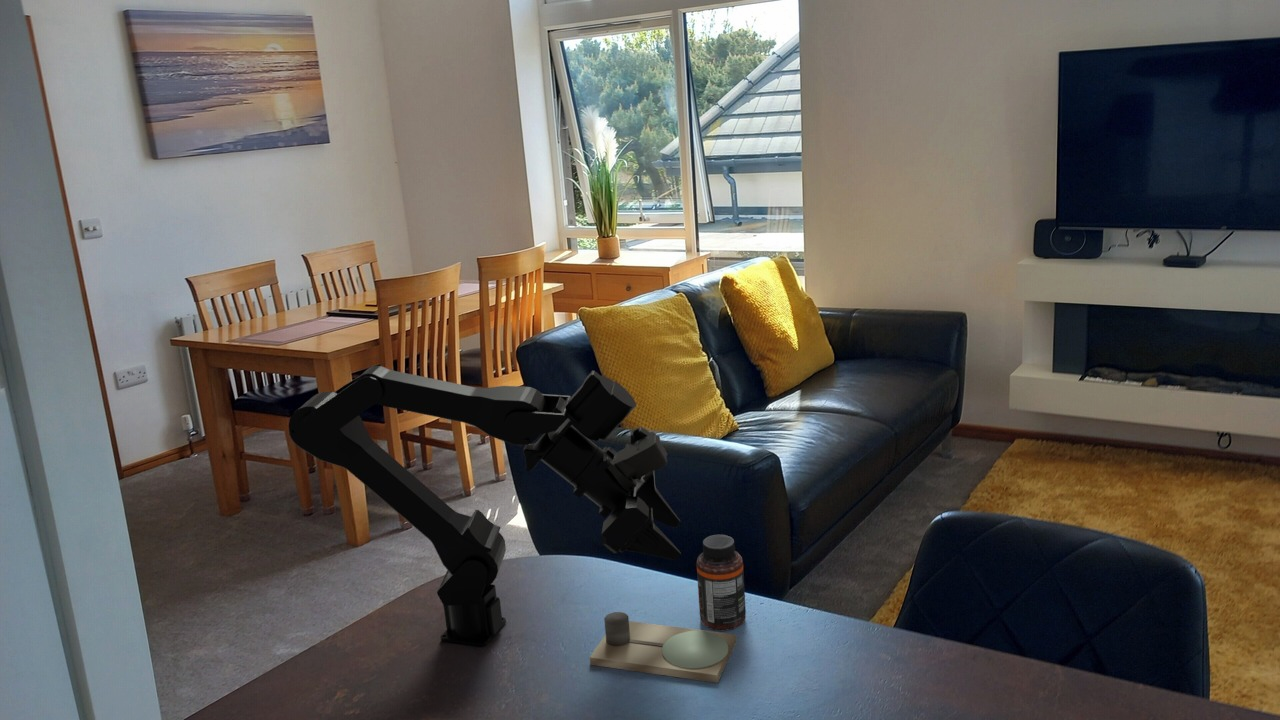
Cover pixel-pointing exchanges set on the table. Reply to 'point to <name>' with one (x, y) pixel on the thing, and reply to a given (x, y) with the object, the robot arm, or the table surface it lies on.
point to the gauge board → (649, 649)
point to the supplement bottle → (721, 584)
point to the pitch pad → (695, 649)
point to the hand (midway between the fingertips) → (678, 540)
